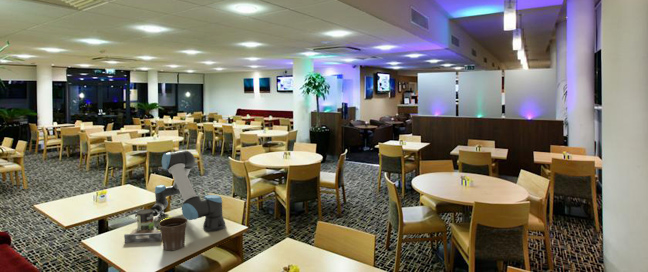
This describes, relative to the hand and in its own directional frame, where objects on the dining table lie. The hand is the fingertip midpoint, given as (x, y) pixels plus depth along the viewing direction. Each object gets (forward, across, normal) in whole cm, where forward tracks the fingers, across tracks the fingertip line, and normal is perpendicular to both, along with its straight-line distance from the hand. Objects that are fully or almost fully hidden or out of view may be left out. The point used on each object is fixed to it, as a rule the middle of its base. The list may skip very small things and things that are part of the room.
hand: (145, 219), depth 243 cm
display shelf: (+14, -6, -7) cm, 17 cm away
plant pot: (+30, -28, -8) cm, 42 cm away
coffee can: (+2, -1, -8) cm, 8 cm away
